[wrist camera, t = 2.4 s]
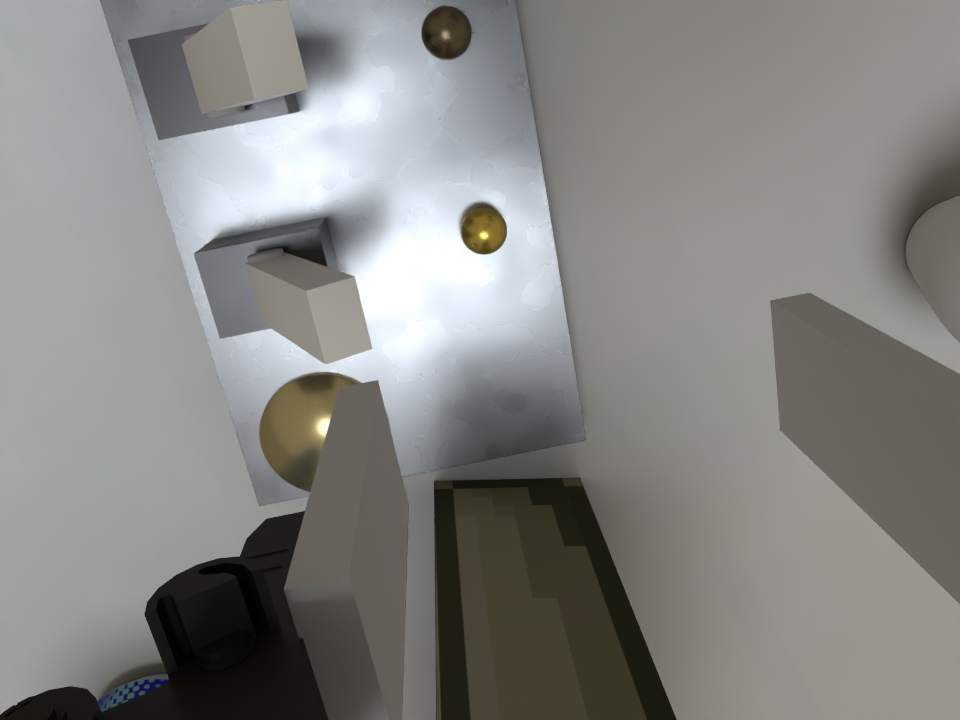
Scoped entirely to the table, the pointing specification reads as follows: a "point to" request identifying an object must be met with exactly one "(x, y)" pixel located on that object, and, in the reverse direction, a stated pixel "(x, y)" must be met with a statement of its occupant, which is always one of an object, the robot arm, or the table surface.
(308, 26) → the panel
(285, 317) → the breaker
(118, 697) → the beer can
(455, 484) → the control panel
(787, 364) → the robot arm
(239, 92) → the breaker
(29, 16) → the table surface
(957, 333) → the mug
